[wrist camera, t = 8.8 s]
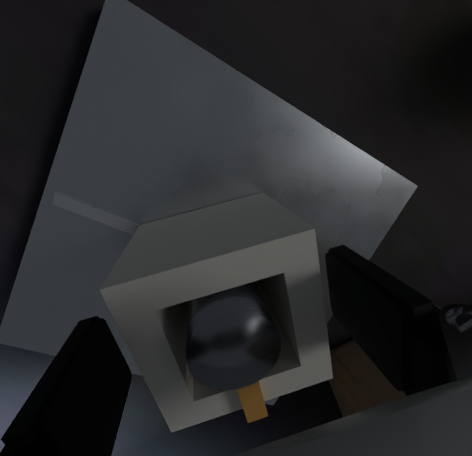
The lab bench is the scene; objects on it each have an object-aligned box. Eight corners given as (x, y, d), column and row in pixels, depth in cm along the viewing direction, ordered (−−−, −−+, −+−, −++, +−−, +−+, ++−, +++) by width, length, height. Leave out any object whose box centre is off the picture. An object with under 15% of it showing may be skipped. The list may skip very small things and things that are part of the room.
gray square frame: (262, 192, 13) (322, 234, 7) (282, 294, 16) (340, 391, 10) (139, 224, 13) (92, 300, 7) (179, 326, 15) (171, 449, 9)
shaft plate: (401, 183, 16) (588, 214, 8) (268, 390, 20) (315, 541, 12) (117, 5, 11) (-47, -305, 3) (10, 327, 15) (-183, 516, 7)
